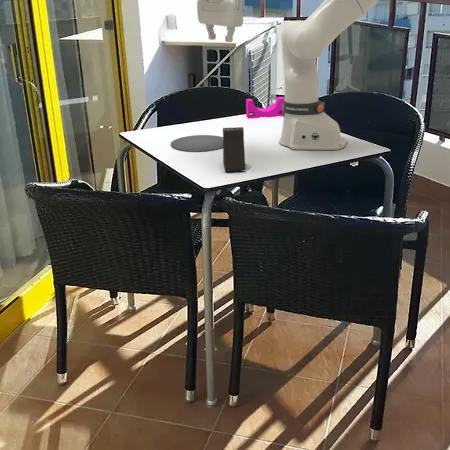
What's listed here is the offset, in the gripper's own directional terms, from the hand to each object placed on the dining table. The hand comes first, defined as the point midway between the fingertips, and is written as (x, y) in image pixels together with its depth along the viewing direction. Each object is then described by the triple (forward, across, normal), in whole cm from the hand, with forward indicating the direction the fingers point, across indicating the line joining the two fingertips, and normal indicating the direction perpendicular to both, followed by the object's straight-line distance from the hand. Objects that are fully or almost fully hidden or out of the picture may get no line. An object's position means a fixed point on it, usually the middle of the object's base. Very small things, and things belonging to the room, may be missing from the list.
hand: (220, 40), depth 194 cm
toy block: (+35, +32, -41) cm, 63 cm away
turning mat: (+35, +14, +1) cm, 38 cm away
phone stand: (+35, -15, +6) cm, 39 cm away
